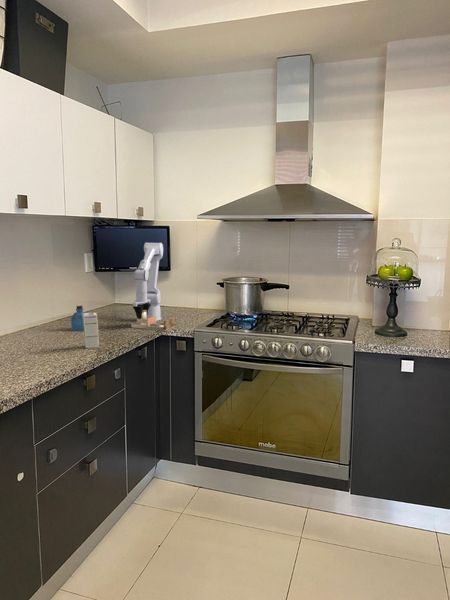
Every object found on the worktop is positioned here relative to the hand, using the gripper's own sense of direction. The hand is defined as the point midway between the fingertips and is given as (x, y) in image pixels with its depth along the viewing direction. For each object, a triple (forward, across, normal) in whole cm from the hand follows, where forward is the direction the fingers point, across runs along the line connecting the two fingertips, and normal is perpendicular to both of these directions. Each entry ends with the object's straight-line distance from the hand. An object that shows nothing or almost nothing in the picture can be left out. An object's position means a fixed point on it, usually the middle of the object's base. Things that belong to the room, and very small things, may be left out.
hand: (142, 317), depth 240 cm
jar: (+2, 0, 0) cm, 2 cm away
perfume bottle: (+5, +19, -25) cm, 32 cm away
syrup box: (+5, +46, +2) cm, 46 cm away
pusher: (+4, 0, +7) cm, 8 cm away
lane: (+4, 0, +7) cm, 8 cm away
